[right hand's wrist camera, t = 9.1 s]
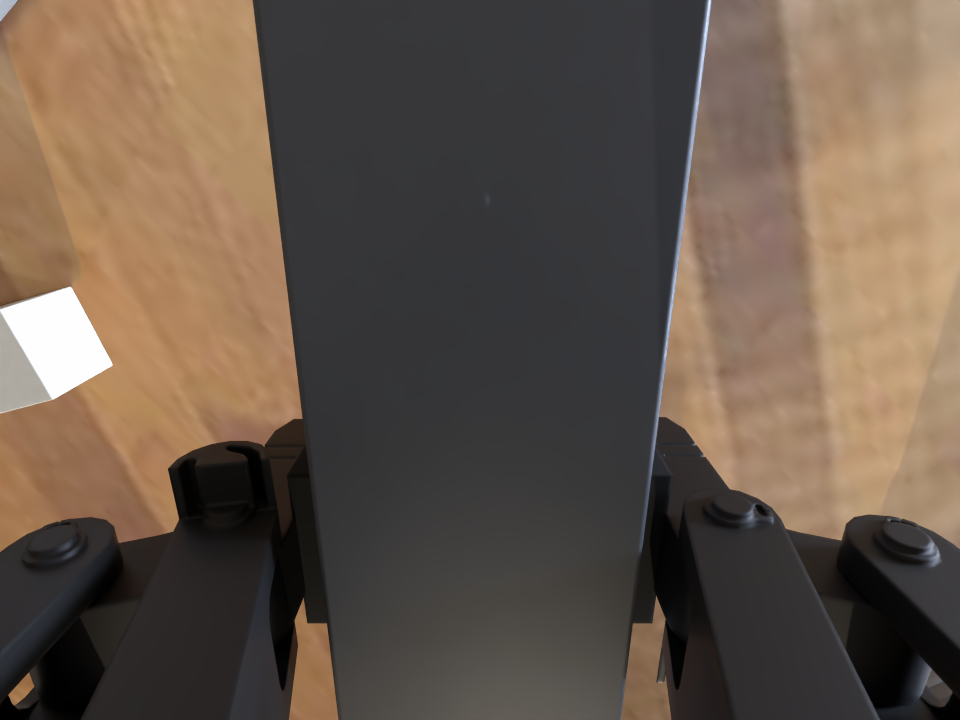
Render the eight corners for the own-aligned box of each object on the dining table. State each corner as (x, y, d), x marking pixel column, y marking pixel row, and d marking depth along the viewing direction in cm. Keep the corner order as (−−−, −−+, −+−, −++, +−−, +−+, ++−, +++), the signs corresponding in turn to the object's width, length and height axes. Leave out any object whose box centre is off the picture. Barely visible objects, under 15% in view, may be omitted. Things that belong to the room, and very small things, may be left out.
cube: (71, 286, 25) (-1, 308, 21) (113, 365, 27) (53, 399, 23) (-7, 308, 26) (-91, 334, 22) (39, 384, 27) (-32, 422, 23)
